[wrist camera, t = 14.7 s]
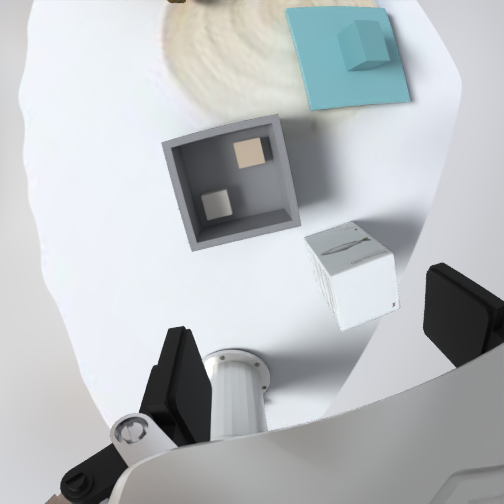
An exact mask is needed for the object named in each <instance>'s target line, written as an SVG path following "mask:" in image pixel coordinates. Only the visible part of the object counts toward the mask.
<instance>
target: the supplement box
mask: <svg viewBox="0 0 504 504" xmlns="http://www.w3.org/2000/svg"><path fill="white" fill-rule="evenodd" d="M304 241H305V244H306V247H307V251H308V254H309V258H310V261H311V265H312V268H313V272H314V275H315V279H316V282H317V284H318V286H319V288H320V290H321V292H322V294H323V296H324V298H325V300H326V302H327V304H328V305H329V307H330V309H331V311H332V313H333V315H334V317H335V318H336V320H337V322H338V325H339V327H340V329H341V331H346V330H349V329H351V328H354V327H356V326H359V325H361V324H364V323H366V322H369V321H372V320H374V319H376V318H379V317H381V316H383V315H386V314H388V313H391V312H393V311H395V310H398V309H400V301H399V293H398V283H397V275H396V267H395V259H394V254H393V253H392V252H391V251H390V250H388V249H387V248H386V247H385V246H383V245H382V244H381V243H379V242H378V241H377V240H376V239H374V238H373V237H372V236H370V235H369V234H368V233H367V232H365V231H364V230H363V229H361V228H360V227H359V226H357V225H356V224H355V223H353V222H352V221H351V222H349V223H346V224H344V225H341V226H338V227H336V228H333V229H330V230H327V231H324V232H321V233H318V234H315V235H311V236H308V237H305V238H304Z"/></svg>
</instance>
